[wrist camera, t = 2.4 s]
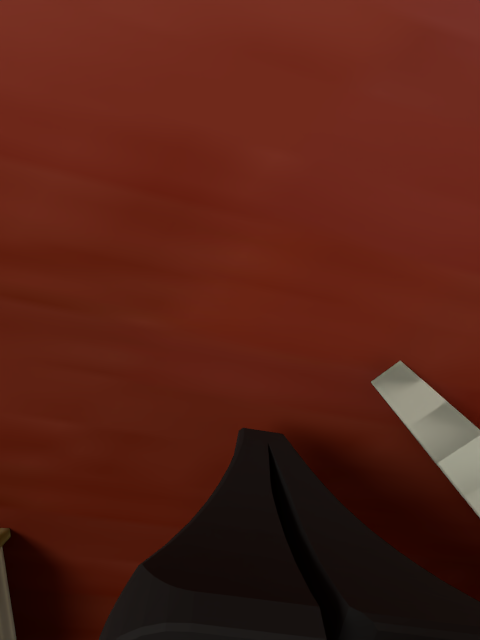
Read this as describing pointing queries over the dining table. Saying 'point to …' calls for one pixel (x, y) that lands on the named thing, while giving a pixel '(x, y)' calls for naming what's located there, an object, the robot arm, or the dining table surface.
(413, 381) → the bar
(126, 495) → the dining table surface
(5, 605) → the hardcover book
